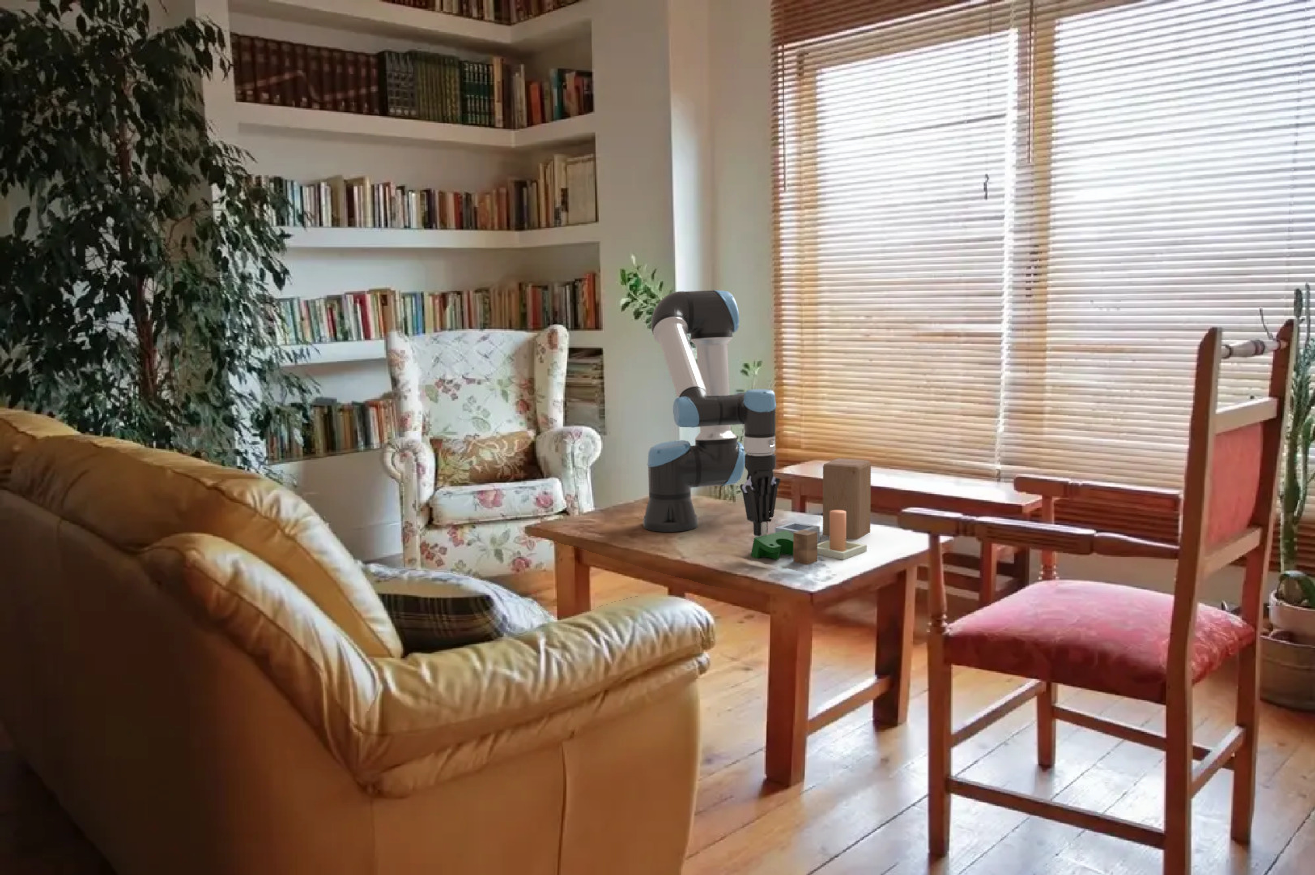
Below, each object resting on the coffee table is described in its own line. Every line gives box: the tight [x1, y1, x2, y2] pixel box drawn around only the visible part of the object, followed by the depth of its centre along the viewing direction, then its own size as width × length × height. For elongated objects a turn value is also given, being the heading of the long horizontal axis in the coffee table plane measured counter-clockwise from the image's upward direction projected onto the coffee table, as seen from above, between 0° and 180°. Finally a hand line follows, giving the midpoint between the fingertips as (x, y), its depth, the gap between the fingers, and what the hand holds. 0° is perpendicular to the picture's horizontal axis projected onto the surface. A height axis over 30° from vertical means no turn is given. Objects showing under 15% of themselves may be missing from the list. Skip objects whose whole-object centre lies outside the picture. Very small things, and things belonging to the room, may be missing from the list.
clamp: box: [750, 530, 793, 560], centre depth 251 cm, size 12×6×9 cm, turn 123°
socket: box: [774, 521, 821, 544], centre depth 262 cm, size 8×8×5 cm
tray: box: [817, 539, 868, 560], centre depth 253 cm, size 10×10×2 cm
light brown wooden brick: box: [792, 530, 818, 565], centre depth 245 cm, size 4×4×8 cm
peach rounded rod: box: [829, 510, 847, 552], centre depth 252 cm, size 4×4×10 cm
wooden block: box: [822, 457, 872, 540], centre depth 270 cm, size 10×10×20 cm
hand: (760, 547), depth 254 cm, fingers closed
